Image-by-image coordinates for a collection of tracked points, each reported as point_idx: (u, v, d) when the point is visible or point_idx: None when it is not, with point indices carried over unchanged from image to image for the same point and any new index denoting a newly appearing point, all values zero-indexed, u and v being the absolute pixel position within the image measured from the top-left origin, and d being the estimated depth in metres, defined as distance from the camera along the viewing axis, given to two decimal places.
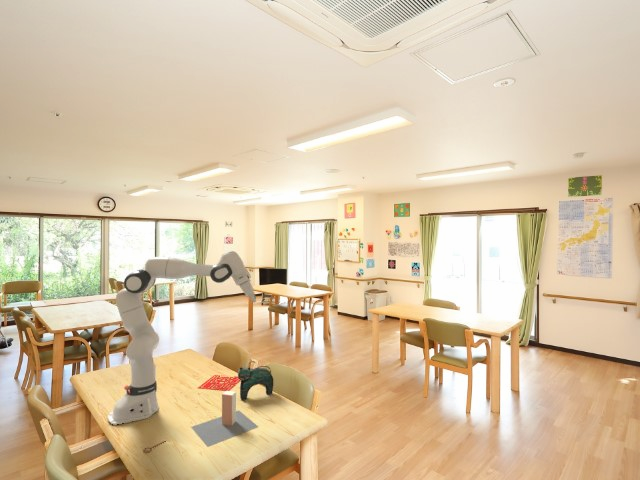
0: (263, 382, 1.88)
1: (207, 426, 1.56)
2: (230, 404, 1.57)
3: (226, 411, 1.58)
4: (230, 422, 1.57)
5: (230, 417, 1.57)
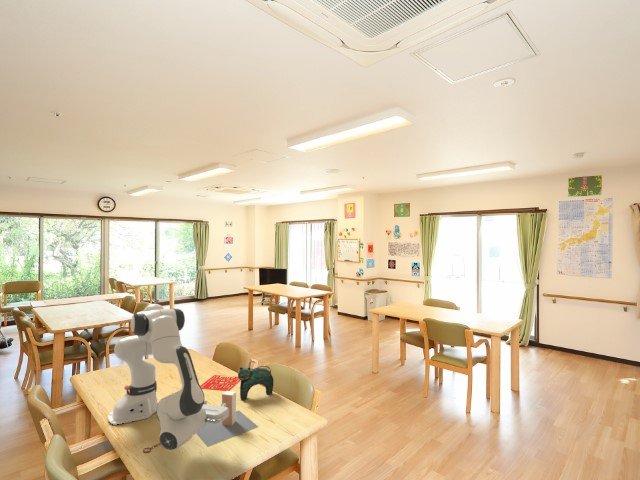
0: (263, 382, 1.88)
1: (207, 426, 1.56)
2: (230, 404, 1.57)
3: None
4: (230, 422, 1.57)
5: (230, 417, 1.57)
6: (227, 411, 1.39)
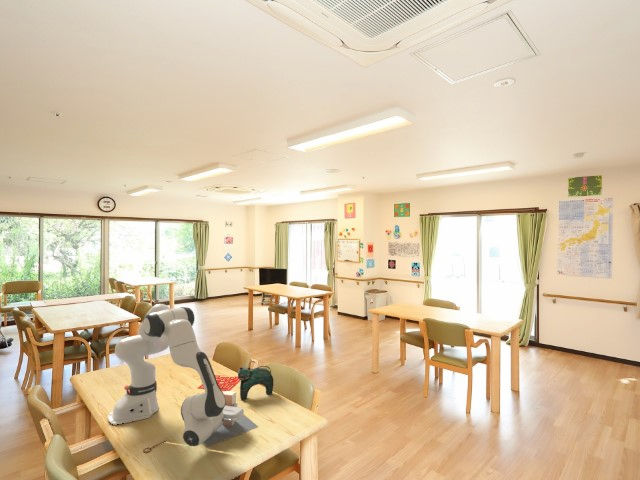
0: (263, 382, 1.88)
1: None
2: (230, 404, 1.57)
3: None
4: None
5: None
6: (242, 411, 1.52)
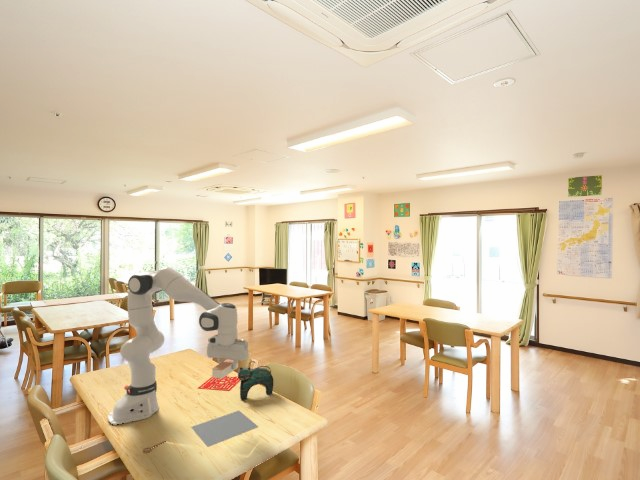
0: (263, 382, 1.88)
1: (207, 426, 1.56)
2: (232, 361, 1.59)
3: (224, 364, 1.56)
4: (223, 368, 1.51)
5: (225, 366, 1.53)
6: (247, 355, 1.56)
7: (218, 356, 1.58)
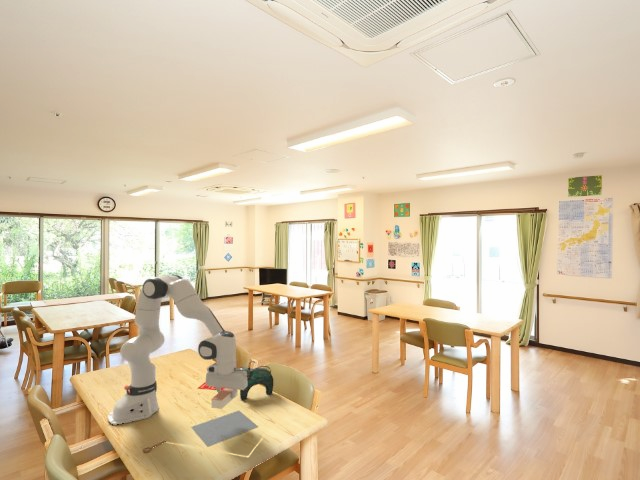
0: (263, 382, 1.88)
1: (207, 426, 1.56)
2: (231, 390, 1.58)
3: (223, 393, 1.56)
4: (222, 398, 1.50)
5: (224, 395, 1.53)
6: (247, 384, 1.56)
7: (217, 385, 1.57)
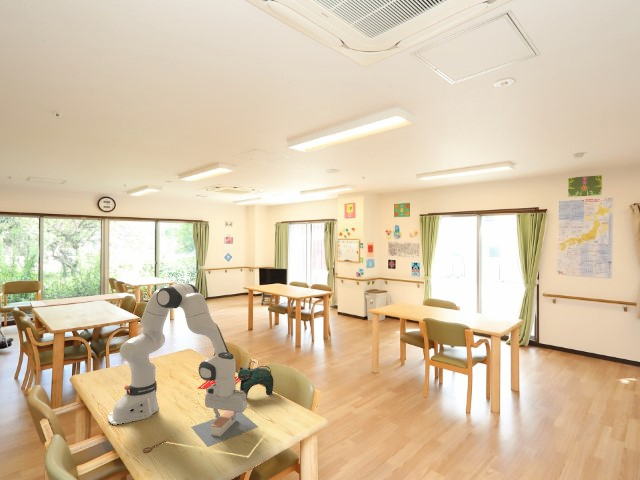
0: (263, 382, 1.88)
1: (207, 426, 1.56)
2: (230, 415, 1.58)
3: (222, 419, 1.55)
4: (221, 425, 1.50)
5: (223, 422, 1.52)
6: (246, 406, 1.56)
7: (216, 407, 1.57)
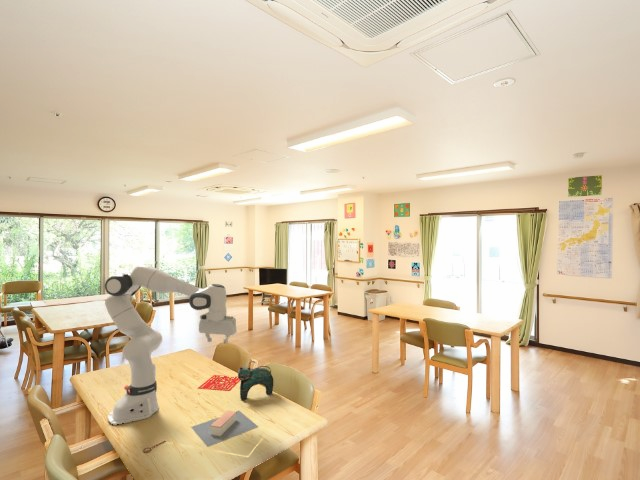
0: (263, 382, 1.88)
1: (207, 426, 1.56)
2: (230, 415, 1.58)
3: (222, 419, 1.55)
4: (221, 425, 1.50)
5: (223, 422, 1.52)
6: (235, 330, 1.73)
7: (209, 331, 1.74)
